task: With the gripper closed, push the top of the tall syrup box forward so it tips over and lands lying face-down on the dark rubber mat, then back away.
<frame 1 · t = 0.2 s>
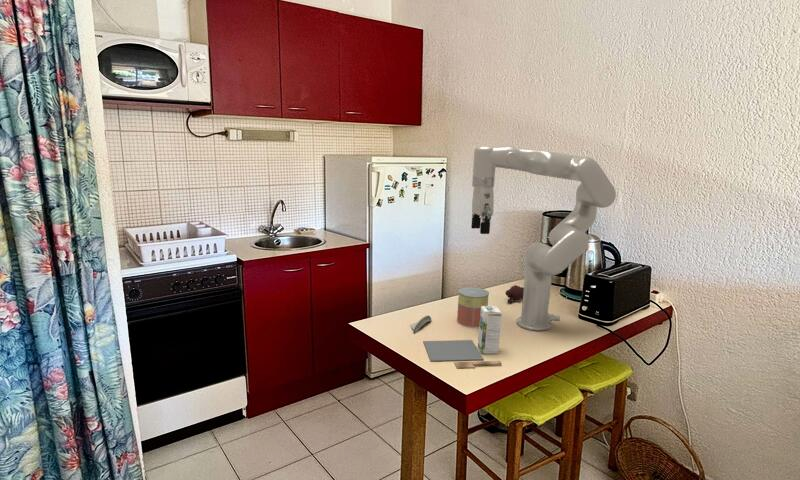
hand: (480, 230, 161), 36 cm above the table, tool pointing down, fingers open, 9 cm apart
spatula: (478, 365, 140), on the table
canned food: (471, 322, 174), on the table
syrup box: (487, 350, 150), on the table
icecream: (515, 300, 199), on the table
ceramic fragment: (421, 328, 168), on the table
mat: (452, 350, 149), on the table
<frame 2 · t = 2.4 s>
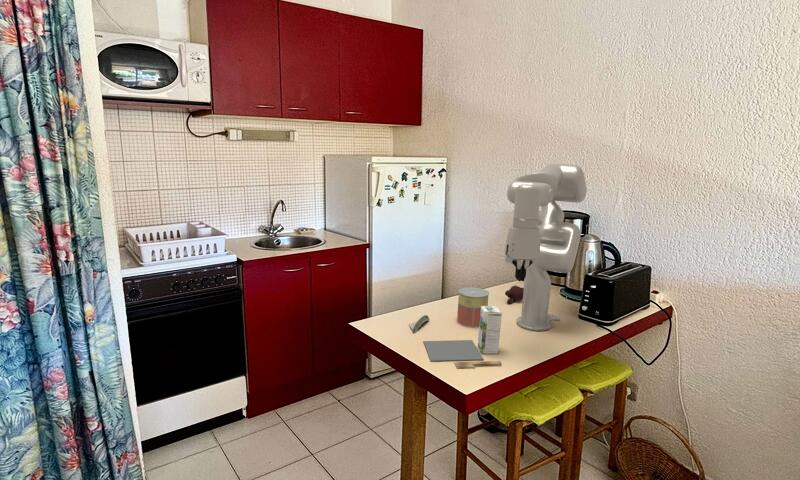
hand: (520, 279, 146), 24 cm above the table, tool pointing down, fingers closed
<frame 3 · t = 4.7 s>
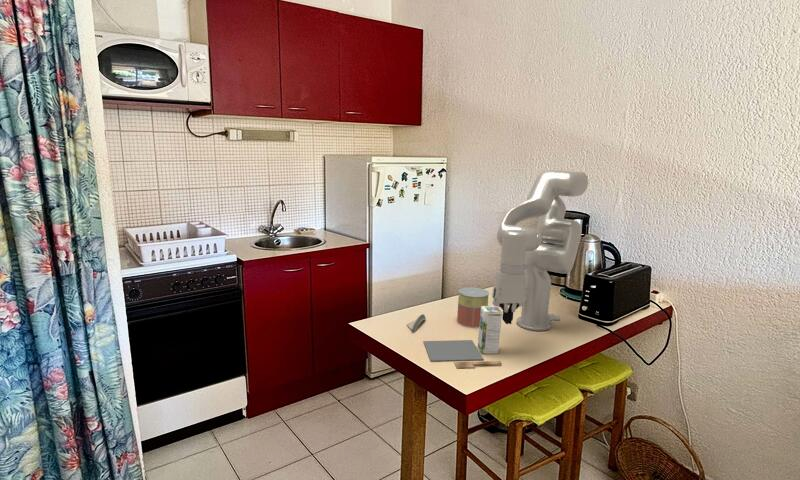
hand: (507, 322, 149), 10 cm above the table, tool pointing down, fingers closed
syrup box: (487, 350, 150), on the table, touching gripper
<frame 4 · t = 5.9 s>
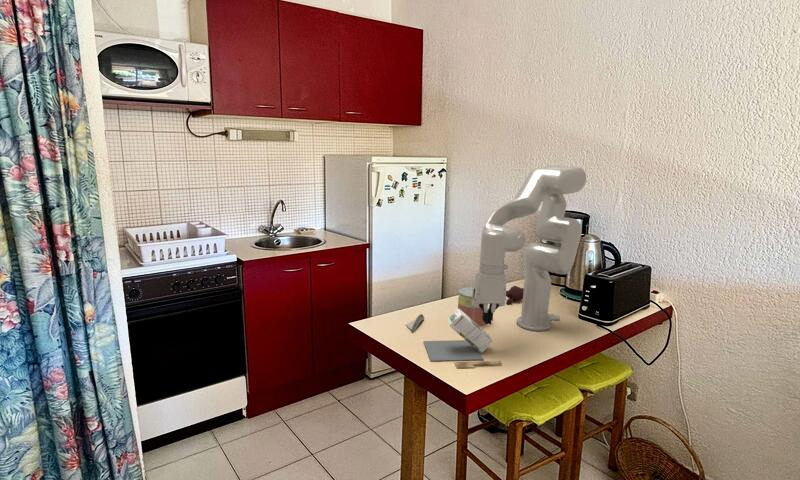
hand: (487, 322, 148), 10 cm above the table, tool pointing down, fingers closed
syrup box: (485, 344, 150), point 2 cm above the table
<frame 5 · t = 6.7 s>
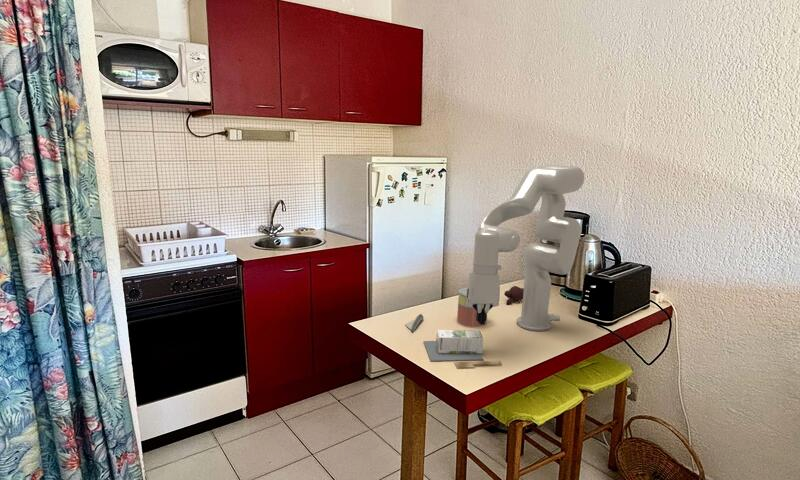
hand: (481, 323, 148), 10 cm above the table, tool pointing down, fingers closed
syrup box: (481, 342, 148), point 3 cm above the table, touching mat
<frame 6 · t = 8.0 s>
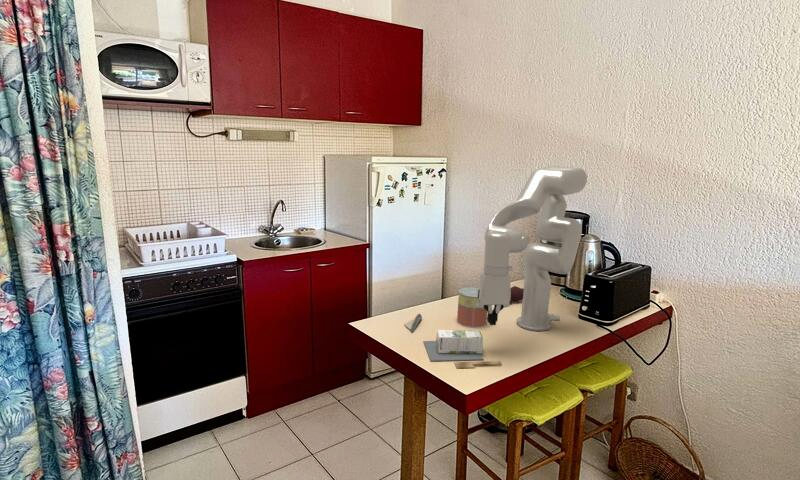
hand: (492, 323, 149), 9 cm above the table, tool pointing down, fingers closed
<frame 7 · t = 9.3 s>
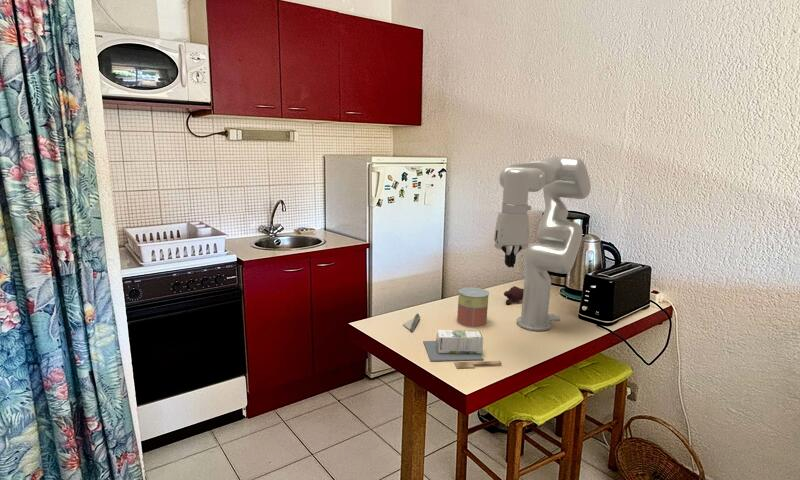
hand: (509, 266, 145), 29 cm above the table, tool pointing down, fingers closed
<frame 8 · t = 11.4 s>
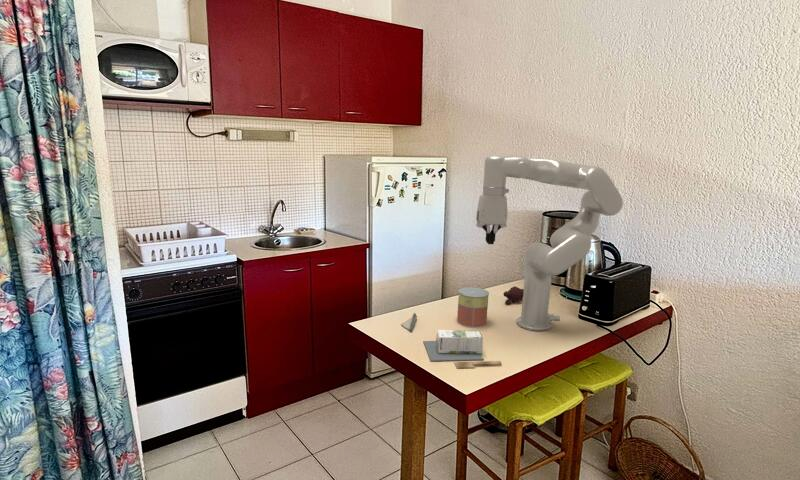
hand: (490, 243, 161), 32 cm above the table, tool pointing down, fingers closed
at the end: syrup box tilted 90°; syrup box inside the target area (8.0 cm from its centre), point 3.4 cm above the table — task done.
